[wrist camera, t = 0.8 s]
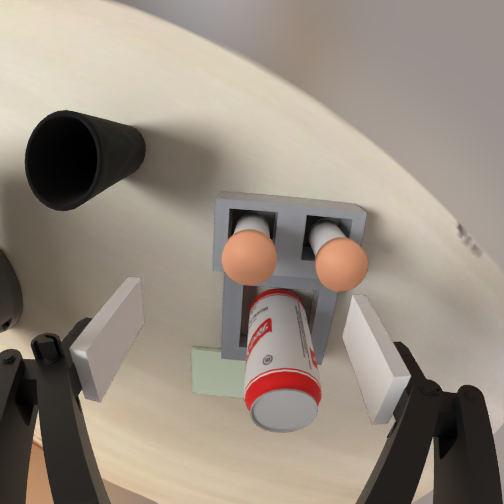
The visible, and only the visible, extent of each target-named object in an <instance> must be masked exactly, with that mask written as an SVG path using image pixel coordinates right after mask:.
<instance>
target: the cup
mask: <svg viewBox="0 0 504 504" xmlns="http://www.w3.org/2000/svg"><path fill="white" fill-rule="evenodd" d="M145 151H146V150H145V142H144V139H143V137H142V135H141V134H140V133H139V132H138V131H137V130H136V129H135V128H133V127H131V126H128V125H124V124H120V123H117V122H113V121H109V120H106V119H102V118H98V117H94V116H90V115H86V114H82V113H78V112H74V111H69V110H63V111H57V112H54V113H52V114H50V115H48V116H47V117H45V118H44V119H43V120H42V121H40V123H39V124H38V125H37V126H36V128H35V129H34V130H33V132H32V134H31V136H30V138H29V141H28V144H27V148H26V153H25V170H26V176H27V180H28V183H29V186H30V187H31V189H32V191H33V193H34V195H35V196H36V197H37V198H38V199H39V201H40V202H42V203H43V204H44V205H46V206H47V207H49V208H51V209H54V210H58V211H68V210H72V209H75V208H77V207H79V206H80V205H82V204H84V203H85V202H87V201H88V200H90V199H91V198H93V197H94V196H96V195H97V194H99V193H101V192H102V191H104V190H105V189H107V188H108V187H110V186H112V185H113V184H115V183H117V182H118V181H120V180H122V179H123V178H125V177H127V176H128V175H130V174H132V173H133V172H135V171H136V170H137V169H138V168H139V167H140V165H141V164H142V162H143V160H144V157H145Z"/></svg>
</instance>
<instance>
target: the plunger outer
mask: <svg viewBox="0 0 504 504" xmlns="http://www.w3.org/2000/svg"><path fill="white" fill-rule="evenodd" d="M308 240H309V243H310V245H311V247H312V250H313V252H314V254H315V269H316V272H317V275H318V278H319V280H320V281H321V283H322V284H323V285H324V286H325V287H326V288H328V289H330V290H332V291H337V292H343V291H348V290H351V289H353V288H355V287H356V286H358V285H359V284H360V283H361V282H362V281H363V279H364V278H365V276H366V274H367V271H368V258H367V255H366V253H365V252H364V250H363V249H362V248H361V247H360V246H359V244H358V243H356V242H355V241H354V240H352V239H349V238H347V237H346V236H345V235H344V234H343V232H342V231H341V230H340V229H339V227H338V226H337V225H336V224H335V223H334V222H333V221H331V220H327V219H322V220H319V221H316V222H315V223H314V224H313V225H312V226H311V227H310V229H309V231H308Z"/></svg>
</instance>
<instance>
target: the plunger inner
mask: <svg viewBox="0 0 504 504" xmlns="http://www.w3.org/2000/svg"><path fill="white" fill-rule="evenodd" d="M276 264H277V255H276V248H275V245H274V243H273V241H272V240H271V239H270V234H269V225H268V222H267V220H266V219H265V218H264V217H263V216H261V215H260V214H257V213H248V214H245V215H243V216H242V217H241V218H240V219H239V220H238V222H237V224H236V228H235V231H234V234H233V235H232V236H231V237H230V238H229V239H228V240H227V242H226V244H225V247H224V250H223V253H222V266H223V269H224V271H225V272H226V274H227V275H228V276H229V277H230V278H231V279H232V280H233V281H235V282H237V283H239V284H243V285H257V284H260V283H262V282H264V281H266V280H267V279H268V278H269V277H270V276H271V275H272V274H273V272H274V270H275V268H276Z"/></svg>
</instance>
